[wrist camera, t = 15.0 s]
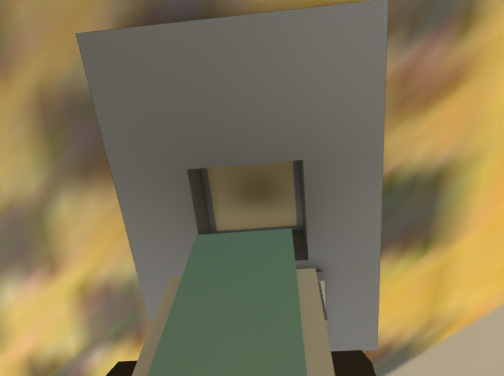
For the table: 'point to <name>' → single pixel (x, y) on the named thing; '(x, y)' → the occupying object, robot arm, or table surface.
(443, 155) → the table surface
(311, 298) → the robot arm
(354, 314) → the socket
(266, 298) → the plug
